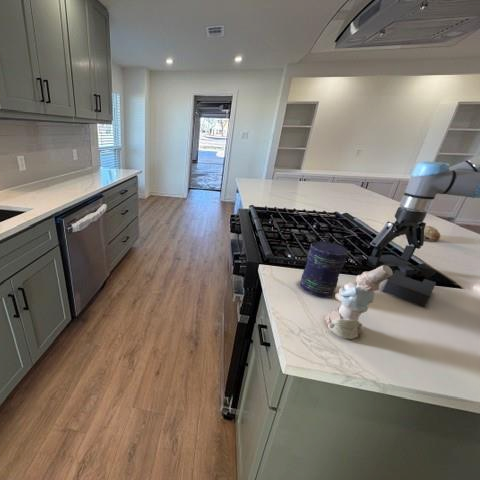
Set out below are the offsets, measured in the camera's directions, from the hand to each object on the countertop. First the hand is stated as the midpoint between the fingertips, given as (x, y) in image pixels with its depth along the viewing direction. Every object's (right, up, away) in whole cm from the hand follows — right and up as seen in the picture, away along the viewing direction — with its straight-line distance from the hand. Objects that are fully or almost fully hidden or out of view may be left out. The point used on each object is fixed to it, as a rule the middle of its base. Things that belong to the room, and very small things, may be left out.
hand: (388, 263), depth 95 cm
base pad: (-6, -8, -13) cm, 16 cm away
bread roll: (+47, +10, +32) cm, 57 cm away
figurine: (-38, -15, -29) cm, 50 cm away
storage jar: (-35, -7, -12) cm, 38 cm away
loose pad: (0, -3, -1) cm, 3 cm away
